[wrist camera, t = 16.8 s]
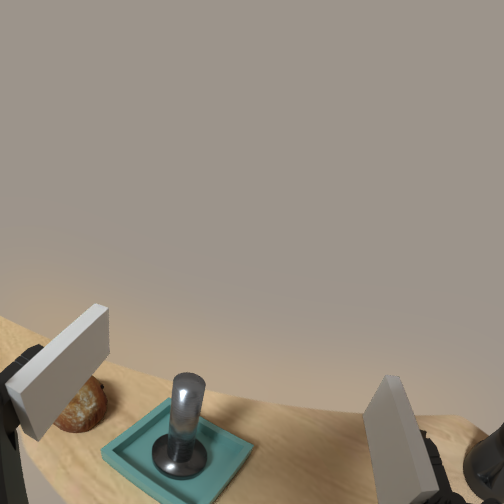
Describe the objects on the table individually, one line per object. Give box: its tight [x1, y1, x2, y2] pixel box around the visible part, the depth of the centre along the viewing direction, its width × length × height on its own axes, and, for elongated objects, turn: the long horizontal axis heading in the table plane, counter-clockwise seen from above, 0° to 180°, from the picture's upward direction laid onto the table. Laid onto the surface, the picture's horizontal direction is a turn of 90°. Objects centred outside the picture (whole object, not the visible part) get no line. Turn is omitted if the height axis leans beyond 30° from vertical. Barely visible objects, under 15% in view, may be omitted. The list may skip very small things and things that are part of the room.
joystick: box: [152, 372, 207, 481], centre depth 31 cm, size 7×7×14 cm
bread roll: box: [53, 376, 107, 433], centre depth 36 cm, size 10×10×8 cm
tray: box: [101, 398, 254, 504], centre depth 33 cm, size 14×14×2 cm
